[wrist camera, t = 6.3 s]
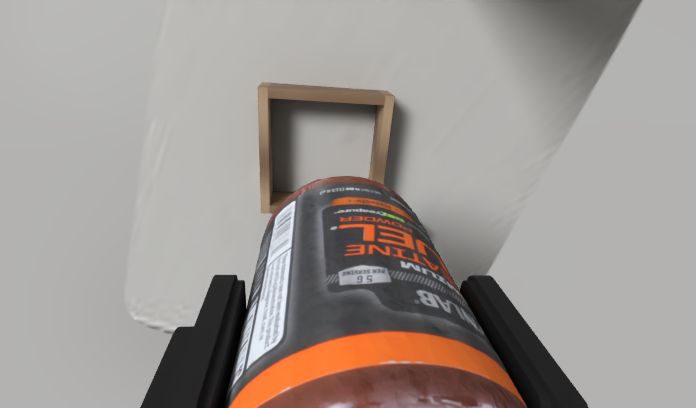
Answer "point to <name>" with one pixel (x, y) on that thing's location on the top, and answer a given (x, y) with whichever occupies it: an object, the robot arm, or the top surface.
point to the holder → (324, 94)
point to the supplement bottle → (359, 312)
